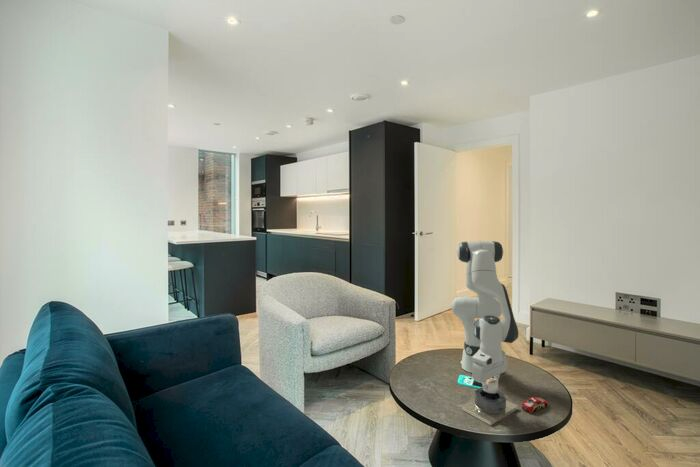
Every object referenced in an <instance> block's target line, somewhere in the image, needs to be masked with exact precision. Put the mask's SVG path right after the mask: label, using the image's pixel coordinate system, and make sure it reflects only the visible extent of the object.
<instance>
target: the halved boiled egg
mask: <svg viewBox="0 0 700 467" xmlns="http://www.w3.org/2000/svg"><path fill="white" fill-rule="evenodd" d="M486 384H487V385H488V389H486V390H485V389H483V390H484V391H485V392H487V393H492V394H494V393H497V392H498V391H499V380H498V381H497V380H496V379H494V377H492V378H490V379H488V380H487V382H486Z"/></svg>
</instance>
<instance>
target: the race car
mask: <svg viewBox="0 0 700 467" xmlns="http://www.w3.org/2000/svg"><path fill="white" fill-rule="evenodd" d="M546 406H547V407H548V401H546V400H545V399H544V398H542V397H532V396H531V397H530V398H528V399H525V401H523V402H522V403H521V409H522V410H524V411H526V412H528V413H531V414H532V413H533V414H534V412H535V413H536V412H538V411H540V410H543V409H544V408H547V407H546Z"/></svg>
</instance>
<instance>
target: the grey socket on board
mask: <svg viewBox="0 0 700 467" xmlns="http://www.w3.org/2000/svg"><path fill="white" fill-rule="evenodd" d="M517 410H519V405H517V404H515V403H514V402H513V403H512V402H511V401H509V400H507V398H506V396H505V394H504V392H501V391H499V390H498V392H497V393H494V394H492V393H487V392H485V391H484V390H483V388H480V389H478V388H477V389H475V390H474V399H473V400H471V401H469V402H467V403H465V404H463V405H461V411H463V412H466V413H467V414H469V415H470V416H473V417H475V418H476V419H478V420H479V421H482V422H483V423H486V424H487V425H489V426H492V425H494V424H496V423H497V422H499V421H500V420H502V419H504V418H506V417H507V416H509V415H511V414H512V413H514V412H515V411H517Z"/></svg>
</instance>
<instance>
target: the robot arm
mask: <svg viewBox="0 0 700 467" xmlns="http://www.w3.org/2000/svg"><path fill="white" fill-rule="evenodd" d="M456 255H457V257H458V258H457V259H458V260H459V261H460V262H462V263H466V265H465V287H466V288H467V289H468V290H469V291H471V292H473V293H475V294H476V295H477V297H474V296H473V297H472V296H459V297H458V296H456V297H455V298H454V299H453V300H452V301H451V307H450V308H451V311H452V313H453V314H454V315H455V316H456V317H457V318H458V319H459V320H460V321H461V322H462V325H463V328H464V343H463V350H462V356H461V357H462V359H461V360H460V364H461V368H462V369H463V370H464V371H466V372H468V373H471V374H472V375H471V377H473V379H474V380H475V381H477V382H479V383H482V388H483V389H485V390H486V389H488V385H487V384H486V382H487V380H488V379H490V378H493V379H496V380H497V381H498V382H499V380H500V377H501V374H503V373H505V372H507V371H508V370H507V369H508V358H507V356H506V352H505V351H504V350H503V348H502V347H503V346H502V343H509V344H512V343H514V342H515V341H517V340H518V338H519V328H518V326H517V322H516V319H515V316H514V313H513V309H512V308H513V307H512V305H511V301H510V296H509V294H508V291H507V288H506V286H505V284H503V283H502V282H501V281H500V280H499V278H498V276H497V267H496V263H497V262H501V261H502V259H503V256H504V248H503V245H502V244H501V243H500V242H499V241H496V240H495V241H489V240H479V241H478V240H476V241H462V242H460V243H459V244H458V246H457V248H456ZM501 316H502V319H500V317H501Z"/></svg>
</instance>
